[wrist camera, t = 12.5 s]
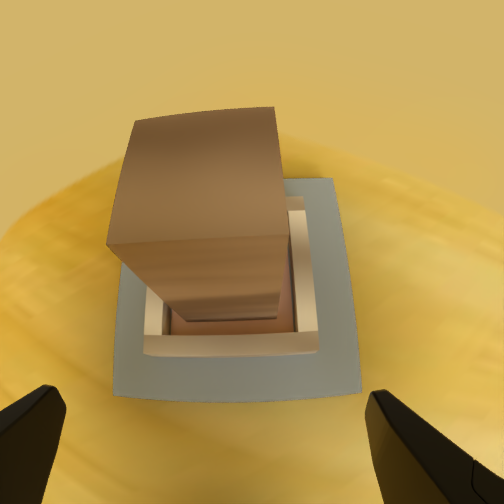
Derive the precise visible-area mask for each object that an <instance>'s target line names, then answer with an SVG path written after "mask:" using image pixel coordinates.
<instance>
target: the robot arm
mask: <svg viewBox="0 0 504 504" xmlns="http://www.w3.org/2000/svg"><path fill="white" fill-rule="evenodd" d="M65 415H66V404H65V402H64V401H63V399H62V397H61V395H60V393H59V391H58V390H57V388H56V387H55V386H51V385H42V386H40V387H39V388H37V389H36V390H34V391H32V392H31V393H29V394H27V395H26V396H24V397H22V398H21V399H19V400H18V401H16V402H14V403H13V404H11V405H9V406H8V407H6V408H5V409H3V410H1V411H0V504H41V503H42V500H43V496H44V492H45V489H46V485H47V482H48V478H49V475H50V472H51V468H52V465H53V462H54V459H55V456H56V453H57V449H58V445H59V440H60V436H61V431H62V427H63V423H64V419H65ZM365 421H366V426H367V432H368V438H369V444H370V450H371V456H372V461H373V466H374V470H375V473H376V477H377V480H378V484H379V487H380V491H381V494H382V498H383V501H384V504H504V479H503V478H501V477H499V476H498V475H496V474H495V473H493V472H492V471H490V470H489V469H488V468H486V467H485V466H483V465H482V464H481V463H479V462H478V461H477V460H474V459H473V457H471V456H470V455H469V454H468V453H466V452H465V451H464V450H462V449H461V448H460V447H458V446H457V445H456V444H455V443H453V442H452V441H451V440H449V439H448V438H447V437H446V436H444V435H443V434H442V433H440V432H439V431H438V430H437V429H435V428H434V427H433V426H432V425H430V424H429V423H428V422H426V421H425V420H424V419H423V418H421V417H420V416H419V415H418V414H416V413H415V412H414V411H413V410H411V409H410V408H409V407H408V406H406V405H405V404H404V403H402V402H401V401H400V400H399V399H397V398H396V397H395V396H394V395H392V394H391V393H390V392H389V391H387V390H385V389H382V390H376V391H372V392H371V393H370V395H369V399H368V402H367V406H366V410H365Z"/></svg>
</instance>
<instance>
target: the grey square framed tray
mask: <svg viewBox="0 0 504 504" xmlns="http://www.w3.org/2000/svg"><path fill="white" fill-rule="evenodd" d="M283 181H284V189H285V198H286V207H287V217H288V226H289V240H288V247H287V254H286V261H285V268H284V274H283V281H282V288H281V294H280V301H279V307H278V313H277V319H270V320H249V321H221V322H186V321H185V320H184V319H183V318H181V317H180V316H179V315H178V314H177V313H176V312H175V311H174V310H173V309H171V308H170V307H169V306H168V305H167V304H166V303H165V302H164V301H163V300H162V299H161V298H160V297H158V296H157V295H156V294H155V293H154V292H153V291H152V290H151V289H150V288H149V287H148V286H147V285H146V284H145V283H144V282H143V281H142V280H141V279H140V278H139V277H138V276H136V275H135V274H134V273H133V272H132V271H131V270H130V269H129V268H128V267H127V266H126V265H125V264H124V263H123V262H122V267H121V275H120V284H119V293H118V303H117V314H116V328H115V344H114V367H113V396H121V397H130V398H140V399H152V400H165V401H183V402H269V401H287V400H301V399H312V398H322V397H332V396H340V395H348V394H355V393H362V384H361V370H360V358H359V347H358V337H357V327H356V318H355V310H354V302H353V294H352V287H351V280H350V273H349V266H348V260H347V253H346V247H345V241H344V235H343V230H342V224H341V219H340V213H339V208H338V203H337V198H336V193H335V188H334V183H333V179H332V178H296V179H283Z"/></svg>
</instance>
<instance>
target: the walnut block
mask: <svg viewBox="0 0 504 504" xmlns="http://www.w3.org/2000/svg"><path fill="white" fill-rule="evenodd" d="M288 240H289V226H288V217H287V207H286V198H285V189H284V181H283V172H282V164H281V156H280V148H279V140H278V132H277V125H276V118H275V111H274V107H256V108H238V109H224V110H213V111H202V112H194V113H185V114H177V115H169V116H162V117H156V118H149V119H143V120H138V121H135V123H134V126H133V129H132V133H131V136H130V140H129V143H128V147H127V151H126V154H125V158H124V162H123V166H122V170H121V174H120V178H119V182H118V187H117V191H116V195H115V200H114V205H113V210H112V215H111V220H110V225H109V230H108V236H107V242H106V245H107V246H108V247H109V248H110V249H111V250H112V252H113V253H114V254H115V255H116V256H117V257H118V258H119V259H120V260H121V261H122V262H123V263H124V264H125V265H126V266H127V267H128V268H129V269H130V270H131V271H132V272H133V273H134V274H135V275H136V276H138V277H139V278H140V279H141V280H142V281H143V282H144V283H145V284H146V285H147V286H148V287H149V288H150V289H151V290H152V291H153V292H154V293H155V294H156V295H157V296H158V297H160V298H161V299H162V300H163V301H164V302H165V303H166V304H167V305H168V306H169V307H170V308H171V309H173V310H174V311H175V312H176V313H177V314H178V315H179V316H180V317H181V318H183V319H184V320H185V321H186V322H221V321H249V320H270V319H277V313H278V307H279V301H280V294H281V288H282V281H283V274H284V268H285V261H286V254H287V247H288Z"/></svg>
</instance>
